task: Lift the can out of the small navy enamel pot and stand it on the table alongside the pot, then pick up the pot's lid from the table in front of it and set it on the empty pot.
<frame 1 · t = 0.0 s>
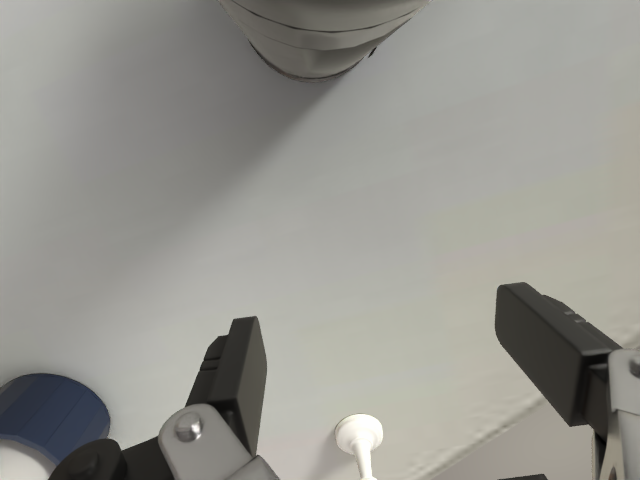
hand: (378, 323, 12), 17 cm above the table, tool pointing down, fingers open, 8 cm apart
pot: (53, 417, 34), on the table
can: (53, 417, 34), resting on pot
chess piece: (358, 430, 37), on the table
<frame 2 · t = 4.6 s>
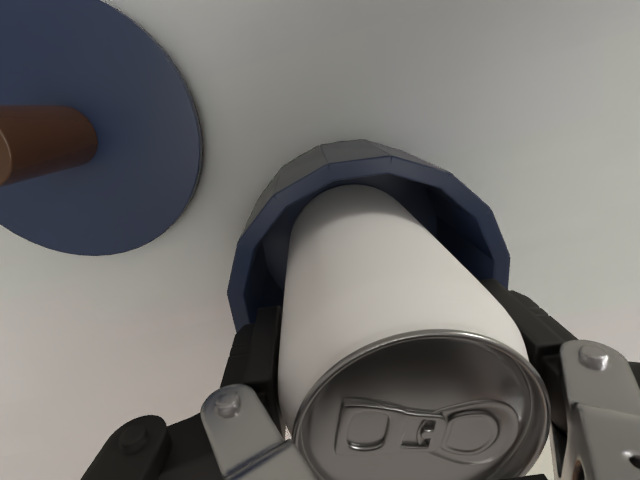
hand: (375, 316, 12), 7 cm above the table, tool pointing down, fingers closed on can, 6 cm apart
pot: (349, 240, 19), on the table
can: (350, 241, 19), resting on pot, touching gripper
lid: (74, 135, 16), point 1 cm above the table
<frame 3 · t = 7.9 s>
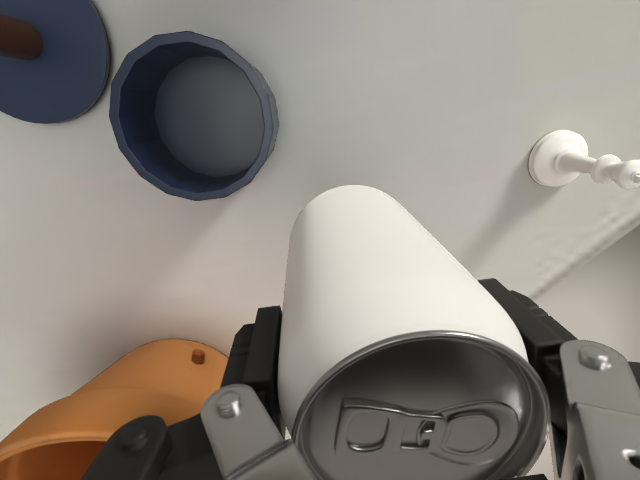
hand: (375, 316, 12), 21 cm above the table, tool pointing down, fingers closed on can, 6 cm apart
pot: (214, 119, 29), on the table
can: (350, 241, 19), point 13 cm above the table, touching gripper
chess piece: (554, 158, 32), on the table
flower pot: (180, 390, 39), on the table
lid: (28, 41, 26), point 1 cm above the table
when the fingers open (7 cm above the table, at t = 11.6 s): can stays where it is, on the table.
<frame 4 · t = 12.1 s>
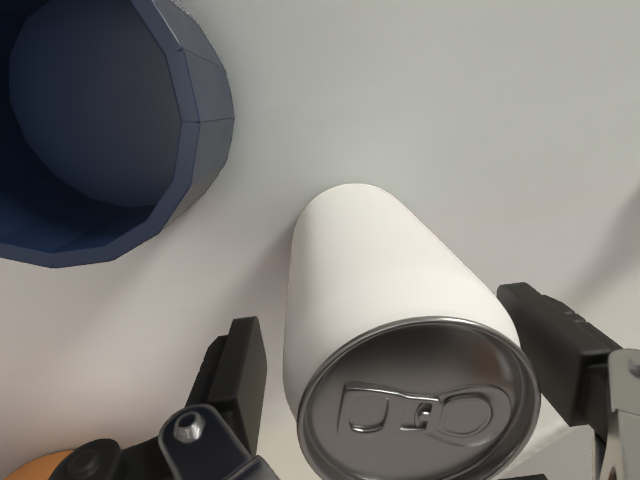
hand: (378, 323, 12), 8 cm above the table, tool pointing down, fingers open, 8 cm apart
pot: (120, 108, 17), on the table
can: (351, 238, 20), on the table
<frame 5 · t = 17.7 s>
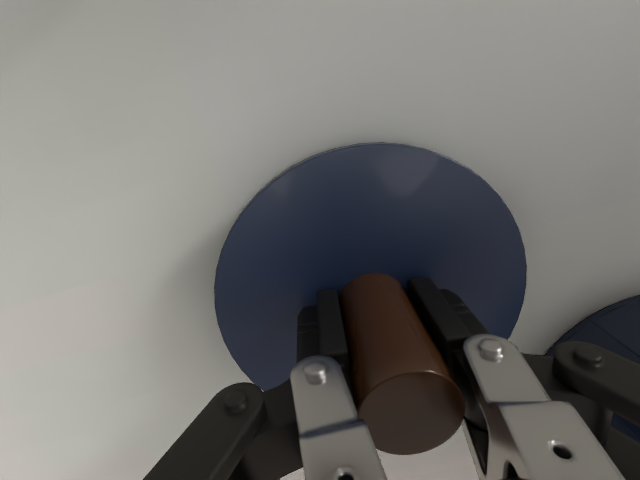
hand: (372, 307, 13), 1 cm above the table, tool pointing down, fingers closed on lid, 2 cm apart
pot: (634, 389, 16), on the table
lid: (369, 297, 13), point 1 cm above the table, touching gripper
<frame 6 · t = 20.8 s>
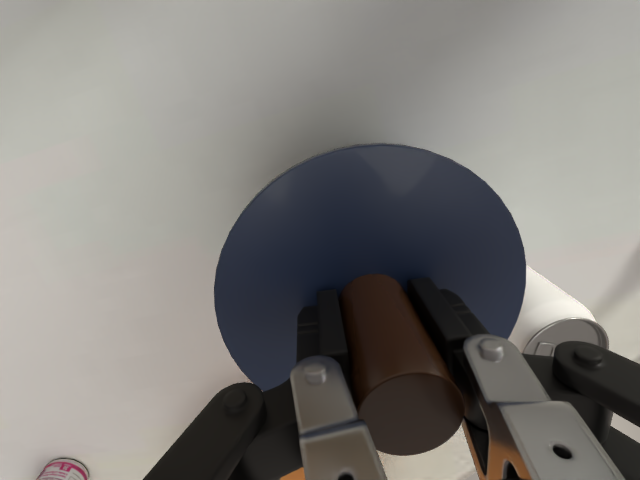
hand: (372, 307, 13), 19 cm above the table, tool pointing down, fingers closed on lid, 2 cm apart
can: (476, 272, 34), on the table
pill bottle: (68, 470, 40), on the table
lid: (369, 298, 13), point 18 cm above the table, touching gripper
when the fingers open (7 cm above the table, at t = 24.1 s): lid stays where it is, resting on pot.
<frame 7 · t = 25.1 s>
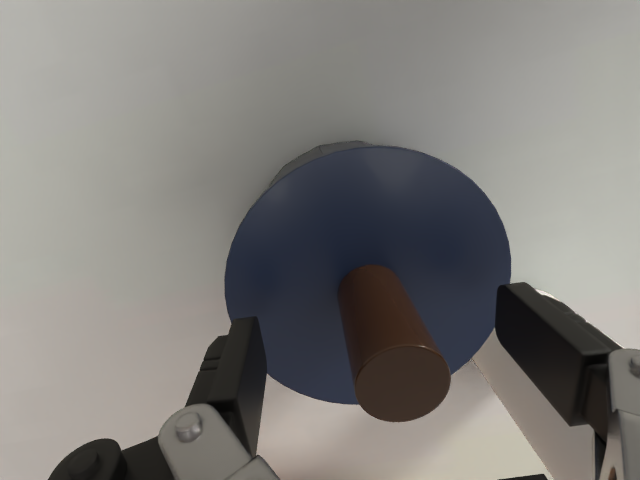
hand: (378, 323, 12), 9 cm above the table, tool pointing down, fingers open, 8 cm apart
pot: (347, 235, 20), on the table
can: (510, 327, 23), on the table
lid: (367, 287, 15), point 6 cm above the table, touching pot
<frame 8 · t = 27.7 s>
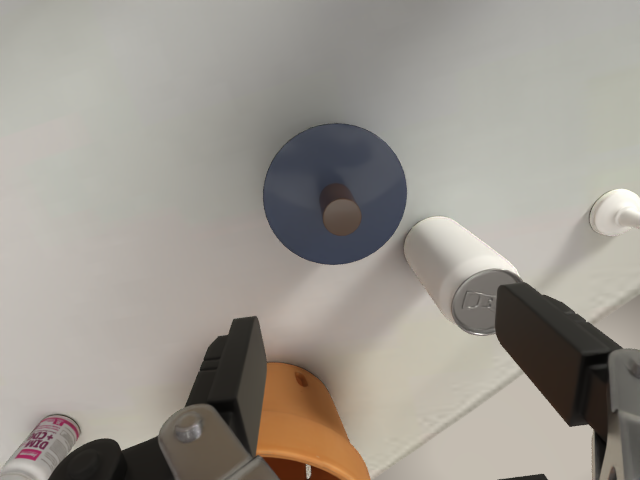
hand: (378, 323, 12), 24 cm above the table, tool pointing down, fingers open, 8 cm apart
can: (432, 243, 37), on the table
chess piece: (611, 211, 37), on the table
pill bottle: (61, 427, 44), on the table
flower pot: (272, 405, 44), on the table
lid: (335, 197, 29), point 6 cm above the table, touching pot
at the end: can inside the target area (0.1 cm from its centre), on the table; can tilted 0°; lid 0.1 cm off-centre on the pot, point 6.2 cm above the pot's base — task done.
